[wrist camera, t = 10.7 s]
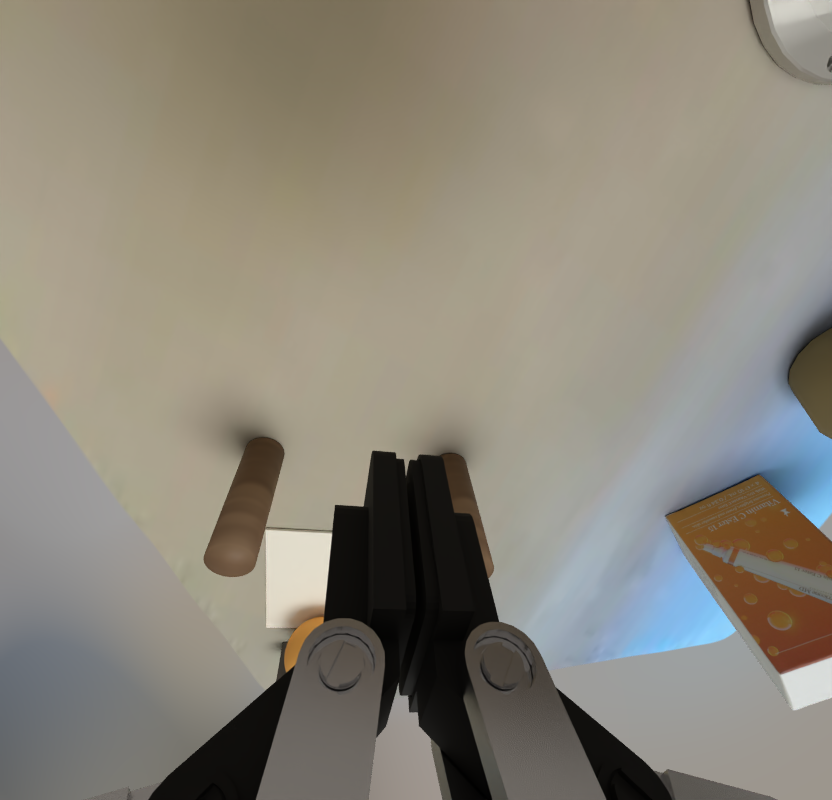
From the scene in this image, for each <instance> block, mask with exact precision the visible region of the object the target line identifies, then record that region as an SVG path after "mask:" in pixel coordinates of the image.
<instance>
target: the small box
mask: <svg viewBox="0 0 832 800" xmlns="http://www.w3.org/2000/svg"><path fill="white" fill-rule="evenodd" d="M666 519H667V521H668V523H669V525H670V527H671V529H672V532H673V534H674V536H675V538H676V540H677V542H678V544H679V546H680V548H681V550H682V552H683V554H684V556H685V557H686V559H687V560H688V562H689V563H690V565H691V566H692V568H693V569H694V570H695V572H696V573H697V575H698V576H699V578H700V579H701V581H702V582H703V583H704V585H705V586H706V588H707V589H708V591H709V592H710V593H711V595H712V596H713V598H714V599H715V601H716V602H717V603H718V605H719V606H720V608H721V609H722V610H723V612H724V613H725V615H726V616H727V618H728V619H729V620H730V622H731V623H732V625H733V626H734V627H735V629H736V630H737V631H738V633H739V634H740V636H741V637H742V639H743V640H744V642H745V643H746V644H747V646H748V647H749V649H750V650H751V652H752V653H753V654H754V656H755V657H756V659H757V660H758V662H759V663H760V665H761V666H762V667H763V669H764V670H765V672H766V673H767V674H768V676H769V677H770V679H771V680H772V682H773V683H774V684H775V686H776V687H777V689H778V690H779V692H780V693H781V695H782V696H783V698H784V699H785V701H786V702H787V704H788V705H789V706H790V708H791V709H792V710H798V709H801V708H803V707H806V706H808V705H811V704H814V703H817V702H820V701H823V700H826V699H829V698H832V541H831V540H830V539H829V538H827V537H826V536H825V535H824V534H823V533H822V532H821V531H820V530H819V529H818V528H817V527H816V526H815V525H814V524H813V523H812V522H811V521H810V520H809V519H807V518H806V517H805V516H804V515H803V514H802V513H801V512H800V511H799V510H798V509H797V508H796V507H795V506H793V505H792V504H791V503H790V502H789V501H788V500H787V499H786V498H785V497H784V496H783V495H781V494H780V493H779V492H778V491H777V490H776V489H775V488H774V487H773V486H772V485H771V484H770V483H769V482H768V481H767V480H765V479H764V478H763V477H762V476H761V475H757V476H755V477H753V478H751V479H749V480H747V481H745V482H742V483H740V484H738V485H736V486H734V487H732V488H729V489H727V490H725V491H723V492H720V493H718V494H716V495H714V496H712V497H709V498H707V499H705V500H703V501H700V502H698V503H696V504H694V505H691V506H689V507H687V508H685V509H682V510H680V511H678V512H675V513H671V514H669V515H667V516H666Z"/></svg>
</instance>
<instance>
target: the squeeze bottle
mask: <svg viewBox="0 0 832 800" xmlns="http://www.w3.org/2000/svg"><path fill="white" fill-rule="evenodd" d="M789 385H790V387H791V389H792V391H793V393H794V394H795V396H796V397H797V399H798V400H799V402H800V403H801V405H802V406H803V408H804V409H805V411H806V412H807V414H808V415H809V417H810V418H811V420H812V421H813V423H814V424H815V426H816V427H817V429H818V430H819V432H820V433H822V434H824V435H825V436H827V437H829V438H831V439H832V328H831V329H829V330H827V331H826V332H824V333H822V334H821V335H819V336H818V337H816V338H815V339H813V340H812V341H811V342H810V343H809V344H808V345H807V346H806V347H805V348H804V349H803V350H802V351H801V352H800V353H799V354H798V356H797V358H796V360H795V361H794V363H793V365H792V367H791V369H790V374H789Z"/></svg>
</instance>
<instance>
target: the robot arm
mask: <svg viewBox="0 0 832 800" xmlns="http://www.w3.org/2000/svg"><path fill="white" fill-rule="evenodd" d="M750 4H751V9H752V15H753V21H754V24H755V27H756V29H757V31H758V34H759V36H760V39H761V41H762V44H763V46H764V48H765V49H766V50H767V52H768V53H769V54H770V56H771V57H772V58H773V59H774V61H775V62H776V63H777V65H778V66H780V67H781V68H783V69H784V70H785V71H787V72H788V73H789V74H791V75H792V76H794V77H795V78H798V79H801V80H804V81H807V82H810V83H813V84H821V85H832V0H750ZM398 682H399V692H400V695H408V699H409V712H418V716H419V726H420V727H421V728H422V729H423V730H424V732H426V734H427V735H428V736H429V737H430V738H431V747H432V753H433V758H434V762H435V767H436V772H437V776H438V781H439V786H440V790H441V795H442V799H443V800H776V799H774V798H772V797H770V796H766V795H762V794H758V793H755V792H751V791H747V790H743V789H740V788H736V787H732V786H728V785H724V784H721V783H717V782H714V781H710V780H706V779H702V778H698V777H694V776H691V775H687V774H684V773H680V772H676V771H672V770H669V769H667V770H666V771H665V772H664V773H660V772H657V771H653V770H652V769H651V768H650V767H649V766H648V765H647V764H646V763H645V762H644V761H643V760H642V759H641V758H639V757H638V756H637V755H636V754H635V753H634V752H632V751H631V750H630V749H629V748H628V747H626V746H625V745H624V744H623V743H622V742H620V741H619V740H618V739H617V738H616V737H614V736H613V735H612V734H611V733H609V732H608V731H607V730H606V729H605V728H604V727H603V726H601V725H600V724H599V723H598V722H597V721H595V720H594V719H593V718H592V717H591V716H589V715H588V714H587V713H586V712H585V711H583V710H582V709H581V708H580V707H579V706H577V705H576V704H575V703H574V702H573V701H572V700H570V699H569V698H568V697H567V696H566V695H564V694H563V693H562V692H561V691H560V690H558V689H557V688H556V687H555V685H554V683H553V680H552V678H551V676H550V674H549V672H548V669H547V667H546V665H545V663H544V660H543V658H542V656H541V654H540V652H539V651H538V649H537V647H536V646H535V644H534V643H533V642H532V641H531V640H530V638H529V637H528V636H527V635H526V634H525V633H523V632H522V631H520V630H519V629H517V628H515V627H514V626H512V625H509V624H506V623H503V622H499V619H498V615H497V611H496V607H495V603H494V599H493V595H492V591H491V587H490V583H489V579H488V575H487V571H486V567H485V563H484V559H483V555H482V551H481V547H480V543H479V539H478V535H477V531H476V527H475V523H474V520H473V517H472V516H471V514H470V513H455V512H454V508H453V504H452V499H451V494H450V489H449V484H448V479H447V475H446V470H445V465H444V460H443V457H442V456H431V455H419V456H418V459H417V460H410V461H409V465H408V470H407V475H405V464H404V459H396V453H395V452H383V451H372V455H371V462H370V468H369V475H368V482H367V488H366V495H365V501H364V507H359V506H344V505H335V511H334V520H333V530H332V540H331V550H330V560H329V570H328V580H327V590H326V600H325V610H324V620H323V624H321V625H319V626H318V627H316V628H315V629H314V630H313V631H312V632H311V633H310V634H309V635H308V636H307V637H306V639H305V640H304V642H303V645H302V647H301V649H300V651H299V654H298V658H297V661H296V664H295V665H294V666H293V667H292V668H291V669H290V670H289V671H288V672H286V673H285V674H284V675H283V676H282V677H281V678H280V679H278V680H277V681H276V682H275V683H274V684H273V685H272V686H270V687H269V688H268V689H267V690H266V691H265V692H264V693H262V694H261V695H260V696H259V697H258V698H257V699H256V700H254V701H253V702H252V703H251V704H250V705H249V706H247V707H246V708H245V709H244V710H243V711H242V712H241V713H239V714H238V715H237V716H236V717H235V718H234V719H233V720H231V721H230V722H229V723H228V724H227V725H226V726H225V727H223V728H222V729H221V730H220V731H219V732H218V733H216V734H215V735H214V736H213V737H212V738H211V739H210V740H208V742H206V743H205V744H204V745H203V746H202V747H200V748H199V749H198V750H197V751H196V752H195V753H194V754H192V755H191V756H190V757H189V758H188V759H187V760H186V761H185V762H183V763H182V764H181V765H180V766H179V767H178V768H176V769H175V770H174V771H173V772H172V773H171V774H170V775H168V776H167V777H166V779H165V780H164V781H163V782H161V783H157V784H154V785H151V786H147V787H144V788H140V789H137V790H134V791H130V789H129V787H126V788H123V789H119V790H116V791H112V792H109V793H105V794H102V795H99V796H95V797H92V798H88V799H85V800H368V799H369V791H370V783H371V775H372V766H373V758H374V750H375V742H376V737H377V736H378V735H379V734H380V733H381V732H382V730H383V729H384V728H385V727H386V724H387V721H388V717H389V714H390V710H391V707H392V703H393V700H394V696H395V693H396V689H397V686H398Z"/></svg>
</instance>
